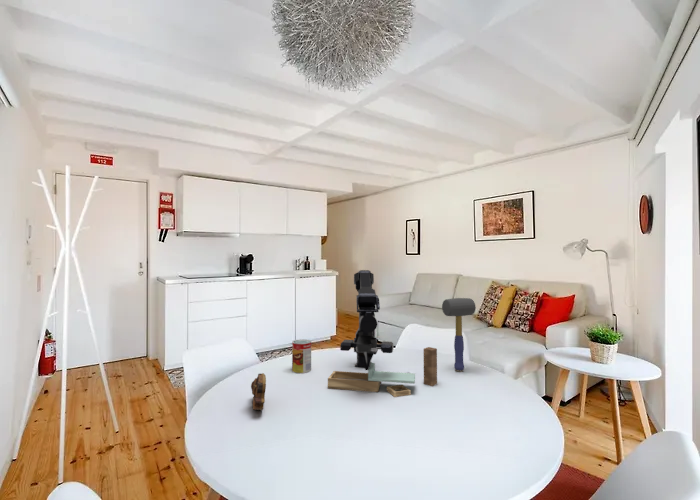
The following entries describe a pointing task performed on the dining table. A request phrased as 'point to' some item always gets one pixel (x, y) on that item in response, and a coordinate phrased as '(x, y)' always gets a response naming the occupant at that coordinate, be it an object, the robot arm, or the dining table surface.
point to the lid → (390, 376)
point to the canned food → (301, 356)
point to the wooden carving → (259, 391)
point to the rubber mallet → (458, 324)
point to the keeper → (398, 393)
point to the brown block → (430, 366)
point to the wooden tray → (352, 381)
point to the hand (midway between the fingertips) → (366, 370)
